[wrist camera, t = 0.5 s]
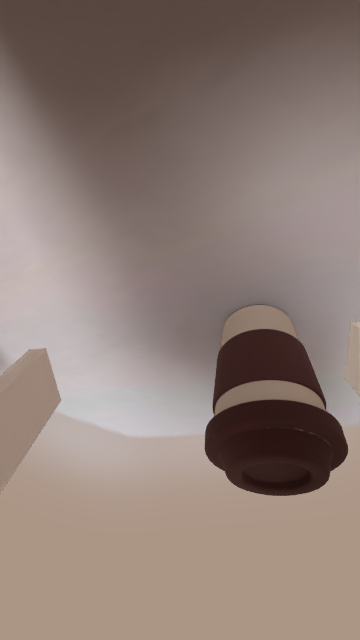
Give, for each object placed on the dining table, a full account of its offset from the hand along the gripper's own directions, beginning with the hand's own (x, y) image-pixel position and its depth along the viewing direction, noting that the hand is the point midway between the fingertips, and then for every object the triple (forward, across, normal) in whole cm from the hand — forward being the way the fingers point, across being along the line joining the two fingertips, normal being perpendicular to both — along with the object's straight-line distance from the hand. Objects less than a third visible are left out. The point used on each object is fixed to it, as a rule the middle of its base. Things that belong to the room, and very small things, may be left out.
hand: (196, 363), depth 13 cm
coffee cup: (+18, +6, -6) cm, 20 cm away
